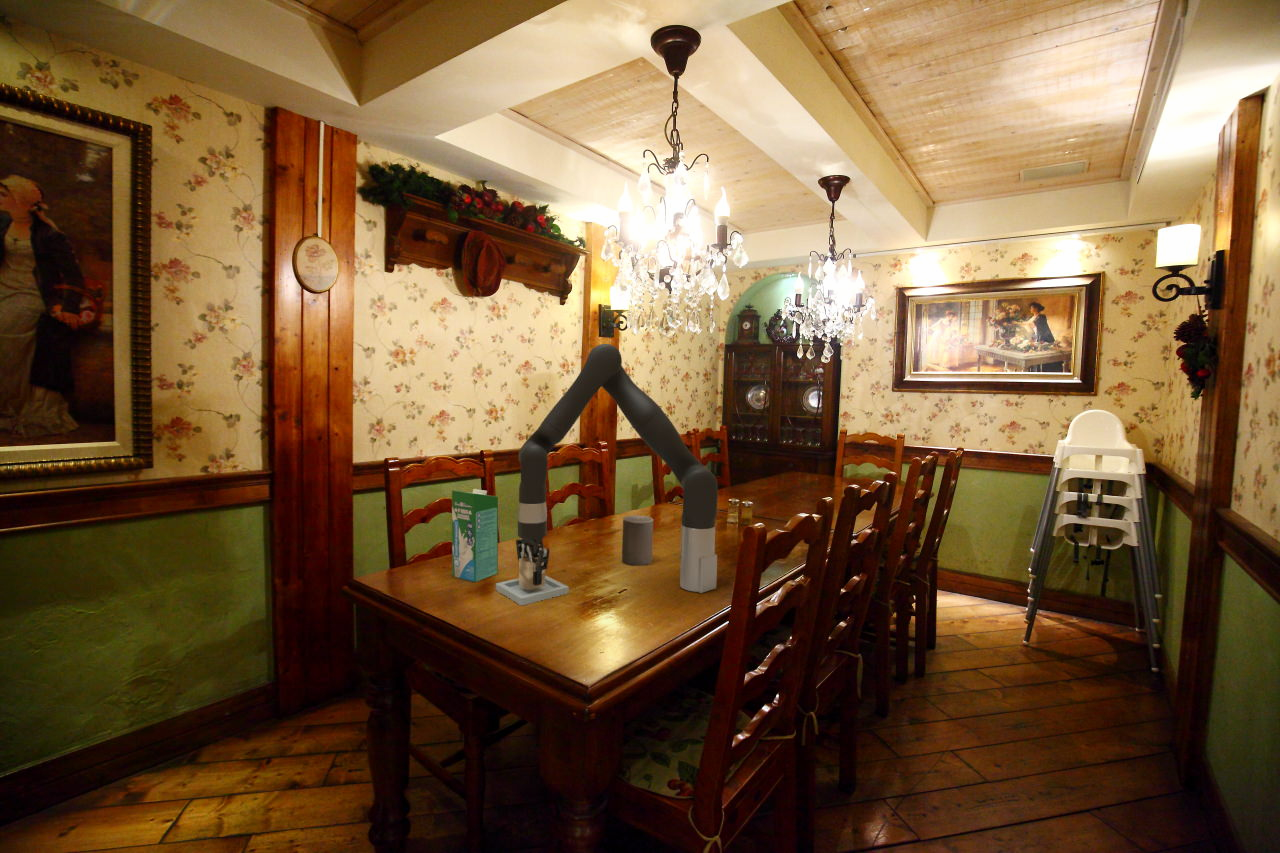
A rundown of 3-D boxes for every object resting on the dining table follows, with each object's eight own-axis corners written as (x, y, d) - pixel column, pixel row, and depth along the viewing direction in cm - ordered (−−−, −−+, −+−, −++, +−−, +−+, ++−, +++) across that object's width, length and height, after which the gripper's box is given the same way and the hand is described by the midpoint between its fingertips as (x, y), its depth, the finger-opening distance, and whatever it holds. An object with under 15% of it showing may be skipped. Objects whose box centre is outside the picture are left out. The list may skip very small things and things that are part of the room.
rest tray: (568, 593, 152) (568, 586, 152) (521, 605, 143) (521, 598, 143) (541, 579, 162) (541, 573, 162) (495, 590, 153) (495, 583, 153)
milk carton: (498, 573, 167) (498, 488, 165) (474, 582, 159) (474, 493, 158) (475, 568, 172) (475, 485, 170) (452, 576, 164) (451, 489, 162)
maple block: (545, 585, 152) (545, 559, 152) (528, 589, 149) (528, 563, 149) (535, 580, 156) (535, 555, 156) (519, 584, 153) (519, 558, 152)
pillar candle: (617, 563, 178) (618, 516, 177) (627, 555, 188) (628, 510, 186) (647, 567, 175) (649, 519, 174) (655, 558, 185) (657, 512, 184)
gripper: (559, 521, 148) (558, 586, 149) (531, 512, 159) (531, 572, 160) (533, 525, 143) (533, 592, 145) (506, 515, 154) (506, 577, 155)
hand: (532, 581), depth 152 cm, fingers closed on maple block, 5 cm apart
